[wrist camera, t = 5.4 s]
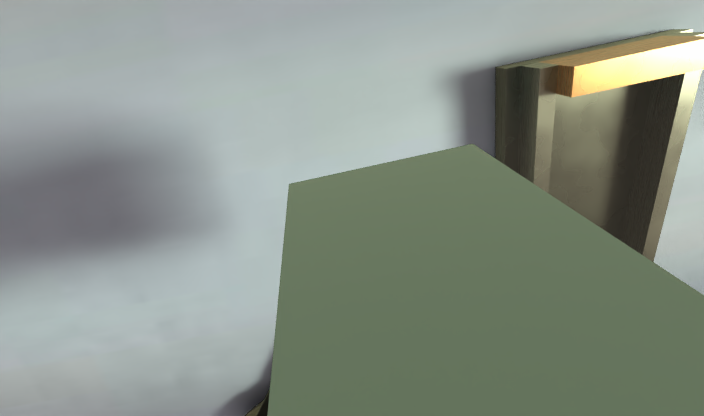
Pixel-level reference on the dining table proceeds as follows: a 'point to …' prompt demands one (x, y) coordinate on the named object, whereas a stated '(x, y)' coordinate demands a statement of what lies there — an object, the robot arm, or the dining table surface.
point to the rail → (603, 127)
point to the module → (472, 302)
